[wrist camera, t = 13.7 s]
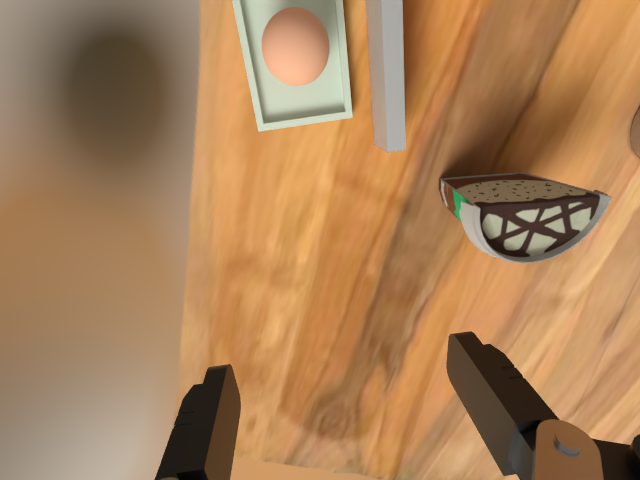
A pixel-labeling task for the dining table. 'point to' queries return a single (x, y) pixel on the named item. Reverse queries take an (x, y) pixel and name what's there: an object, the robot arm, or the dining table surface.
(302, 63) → the ball
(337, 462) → the dining table surface
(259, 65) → the sage tray
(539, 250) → the food container
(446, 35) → the dining table surface
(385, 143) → the low wall
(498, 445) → the robot arm
